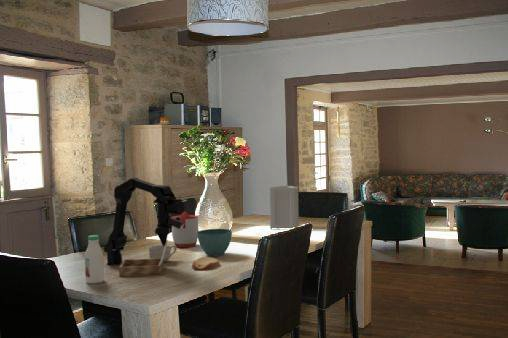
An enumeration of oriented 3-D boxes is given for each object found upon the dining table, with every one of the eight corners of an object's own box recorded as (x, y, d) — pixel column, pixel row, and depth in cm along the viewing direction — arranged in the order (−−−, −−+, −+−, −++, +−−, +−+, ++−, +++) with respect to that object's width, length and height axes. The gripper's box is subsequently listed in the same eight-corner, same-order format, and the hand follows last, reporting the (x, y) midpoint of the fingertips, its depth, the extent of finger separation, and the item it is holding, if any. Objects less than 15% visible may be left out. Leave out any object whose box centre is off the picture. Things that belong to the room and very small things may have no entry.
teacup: (149, 265, 263) (149, 248, 263) (148, 260, 274) (147, 244, 273) (178, 262, 267) (178, 246, 267) (175, 258, 277) (175, 242, 277)
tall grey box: (303, 226, 370) (302, 186, 368) (296, 230, 356) (296, 187, 355) (277, 225, 377) (276, 185, 376) (269, 229, 363) (268, 187, 362)
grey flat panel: (164, 245, 243) (165, 245, 243) (167, 239, 259) (168, 239, 259) (159, 264, 244) (160, 265, 244) (162, 257, 259) (163, 257, 259)
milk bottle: (106, 279, 237) (104, 234, 236) (101, 283, 230) (100, 237, 229) (88, 279, 237) (86, 234, 236) (83, 284, 230) (81, 237, 229)
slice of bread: (209, 260, 273) (209, 252, 272) (230, 266, 259) (230, 258, 258) (178, 266, 262) (178, 258, 261) (199, 272, 247) (198, 264, 247)
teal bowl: (227, 258, 274) (226, 234, 273) (193, 258, 277) (192, 234, 277) (235, 251, 291) (235, 228, 291) (203, 250, 295) (202, 228, 294)
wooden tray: (119, 276, 242) (119, 267, 242) (125, 267, 258) (124, 259, 258) (159, 274, 244) (159, 265, 243) (163, 266, 259) (162, 258, 259)
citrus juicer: (166, 249, 302) (165, 213, 301) (177, 243, 319) (176, 209, 318) (192, 249, 299) (191, 213, 298) (203, 243, 315) (202, 209, 314)
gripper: (179, 215, 242) (180, 249, 242) (182, 210, 260) (182, 242, 261) (154, 215, 241) (155, 250, 241) (159, 210, 259) (159, 242, 260)
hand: (164, 246), depth 251 cm, fingers closed, pressing on grey flat panel
